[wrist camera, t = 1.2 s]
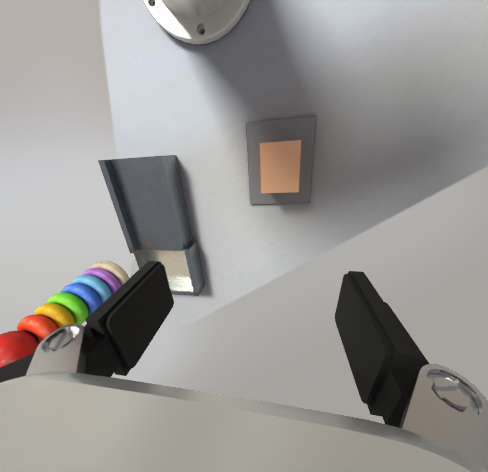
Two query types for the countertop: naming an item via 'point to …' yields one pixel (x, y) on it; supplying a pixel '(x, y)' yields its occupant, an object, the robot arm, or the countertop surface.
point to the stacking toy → (63, 310)
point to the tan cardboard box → (280, 166)
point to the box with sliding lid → (155, 217)
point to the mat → (276, 133)
